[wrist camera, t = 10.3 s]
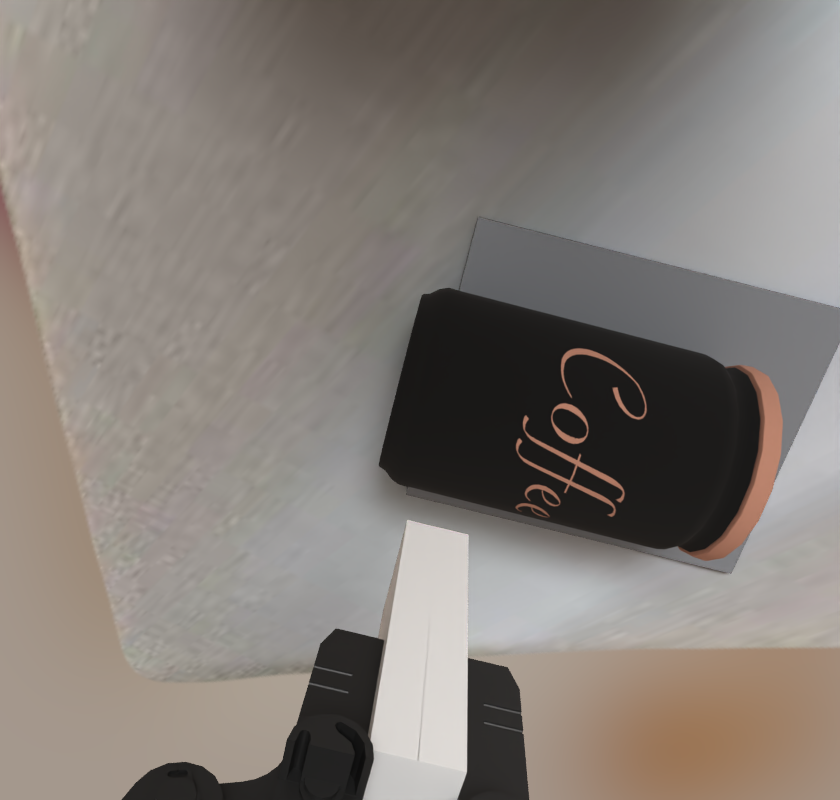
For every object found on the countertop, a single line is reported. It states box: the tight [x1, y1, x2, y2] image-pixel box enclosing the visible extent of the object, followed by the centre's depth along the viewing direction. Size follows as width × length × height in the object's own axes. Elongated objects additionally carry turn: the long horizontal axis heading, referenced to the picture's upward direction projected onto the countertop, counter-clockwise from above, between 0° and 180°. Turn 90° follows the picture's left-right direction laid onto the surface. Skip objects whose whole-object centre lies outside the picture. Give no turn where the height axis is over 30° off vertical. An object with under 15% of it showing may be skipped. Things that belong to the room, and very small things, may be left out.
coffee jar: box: [379, 288, 783, 561], centre depth 37 cm, size 11×11×18 cm
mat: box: [406, 217, 840, 573], centre depth 42 cm, size 22×18×1 cm
